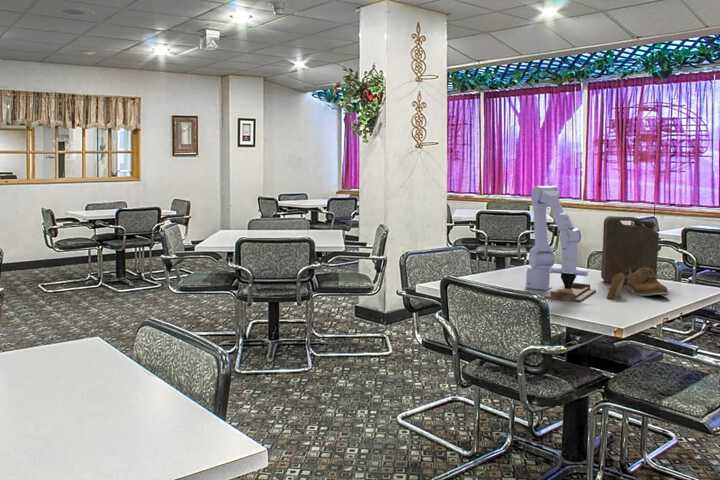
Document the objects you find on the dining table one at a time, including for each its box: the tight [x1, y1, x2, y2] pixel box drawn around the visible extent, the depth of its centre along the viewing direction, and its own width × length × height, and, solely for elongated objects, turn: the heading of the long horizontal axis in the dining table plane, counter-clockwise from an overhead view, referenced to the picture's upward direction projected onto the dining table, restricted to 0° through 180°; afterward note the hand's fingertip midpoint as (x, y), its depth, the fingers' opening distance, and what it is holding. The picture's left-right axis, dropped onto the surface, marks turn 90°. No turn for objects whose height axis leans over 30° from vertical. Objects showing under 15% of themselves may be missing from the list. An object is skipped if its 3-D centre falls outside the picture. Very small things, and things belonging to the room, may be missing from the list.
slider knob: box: [557, 287, 573, 293], centre depth 264 cm, size 5×4×2 cm
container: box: [600, 215, 660, 285], centre depth 300 cm, size 22×10×30 cm, turn 81°
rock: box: [606, 273, 625, 300], centre depth 269 cm, size 11×9×10 cm
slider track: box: [544, 282, 597, 303], centre depth 272 cm, size 14×26×3 cm, turn 148°
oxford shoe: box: [625, 266, 670, 297], centre depth 277 cm, size 28×10×11 cm, turn 2°
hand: (567, 292), depth 268 cm, fingers closed
